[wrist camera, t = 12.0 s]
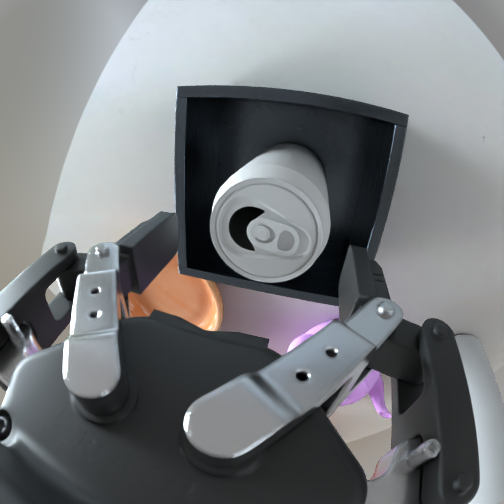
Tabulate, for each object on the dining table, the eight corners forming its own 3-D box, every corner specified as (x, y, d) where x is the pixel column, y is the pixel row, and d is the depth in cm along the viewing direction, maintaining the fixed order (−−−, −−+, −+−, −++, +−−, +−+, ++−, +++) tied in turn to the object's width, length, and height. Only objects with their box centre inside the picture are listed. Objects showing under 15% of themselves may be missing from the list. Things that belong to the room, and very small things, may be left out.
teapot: (285, 311, 32) (272, 370, 24) (400, 307, 28) (415, 365, 21) (292, 372, 37) (283, 423, 30) (385, 369, 33) (390, 421, 26)
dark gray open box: (217, 91, 22) (176, 86, 15) (380, 113, 20) (409, 115, 13) (211, 233, 29) (178, 273, 22) (349, 258, 27) (356, 309, 20)
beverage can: (262, 133, 22) (211, 154, 12) (335, 154, 22) (350, 194, 11) (247, 200, 25) (195, 268, 15) (313, 220, 25) (306, 303, 15)
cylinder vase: (494, 336, 27) (536, 481, 5) (450, 387, 33) (465, 516, 12) (439, 325, 28) (475, 513, 7) (394, 382, 34) (396, 534, 13)
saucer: (117, 297, 38) (106, 308, 36) (128, 208, 30) (113, 218, 28) (208, 347, 39) (201, 362, 36) (249, 270, 30) (242, 285, 28)
